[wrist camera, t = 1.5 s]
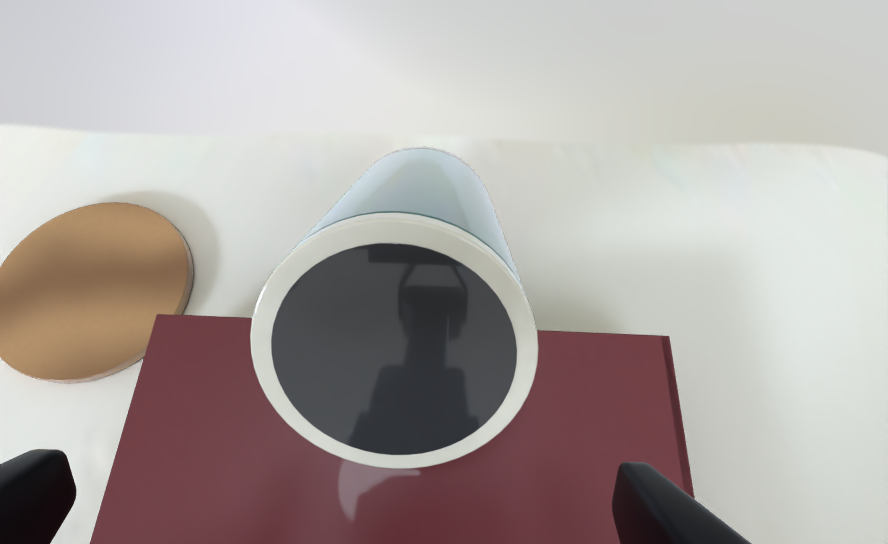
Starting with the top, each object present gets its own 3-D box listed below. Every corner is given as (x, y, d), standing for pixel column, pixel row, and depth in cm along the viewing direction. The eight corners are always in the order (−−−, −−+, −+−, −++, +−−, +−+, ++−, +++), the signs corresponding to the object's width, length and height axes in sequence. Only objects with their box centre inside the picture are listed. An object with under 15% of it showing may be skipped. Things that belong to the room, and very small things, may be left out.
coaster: (211, 338, 22) (205, 334, 21) (1, 415, 20) (-11, 414, 20) (175, 186, 25) (169, 179, 24) (-9, 242, 23) (-20, 237, 23)
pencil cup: (486, 472, 20) (573, 475, 8) (330, 466, 20) (171, 458, 8) (486, 205, 25) (539, -44, 13) (362, 199, 25) (298, -56, 13)
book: (694, 782, 16) (749, 846, 13) (81, 761, 16) (8, 821, 13) (639, 352, 22) (669, 335, 19) (191, 333, 22) (156, 313, 19)
